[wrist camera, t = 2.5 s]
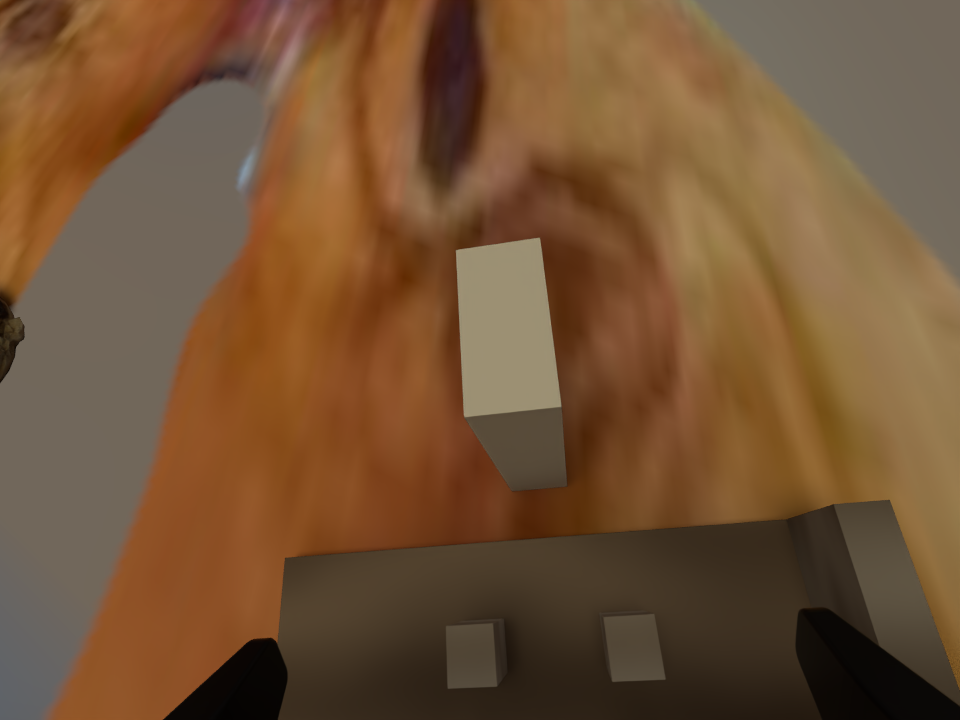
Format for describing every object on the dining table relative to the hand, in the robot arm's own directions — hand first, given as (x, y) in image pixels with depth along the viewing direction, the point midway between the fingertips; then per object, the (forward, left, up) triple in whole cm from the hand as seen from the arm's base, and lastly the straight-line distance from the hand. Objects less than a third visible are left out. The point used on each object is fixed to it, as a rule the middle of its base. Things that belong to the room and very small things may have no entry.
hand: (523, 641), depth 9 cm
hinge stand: (-1, -3, -13) cm, 13 cm away
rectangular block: (+2, +7, -13) cm, 15 cm away
